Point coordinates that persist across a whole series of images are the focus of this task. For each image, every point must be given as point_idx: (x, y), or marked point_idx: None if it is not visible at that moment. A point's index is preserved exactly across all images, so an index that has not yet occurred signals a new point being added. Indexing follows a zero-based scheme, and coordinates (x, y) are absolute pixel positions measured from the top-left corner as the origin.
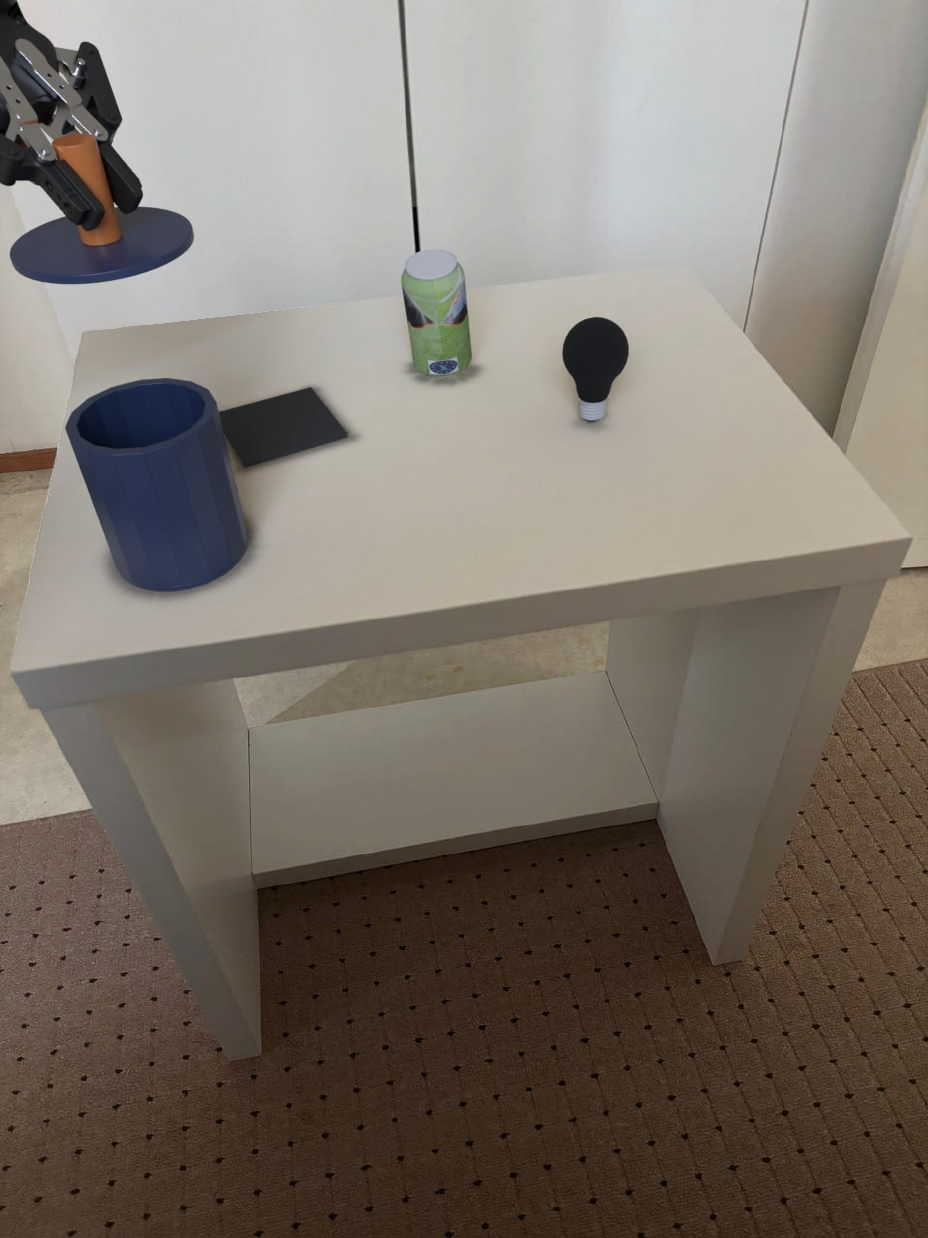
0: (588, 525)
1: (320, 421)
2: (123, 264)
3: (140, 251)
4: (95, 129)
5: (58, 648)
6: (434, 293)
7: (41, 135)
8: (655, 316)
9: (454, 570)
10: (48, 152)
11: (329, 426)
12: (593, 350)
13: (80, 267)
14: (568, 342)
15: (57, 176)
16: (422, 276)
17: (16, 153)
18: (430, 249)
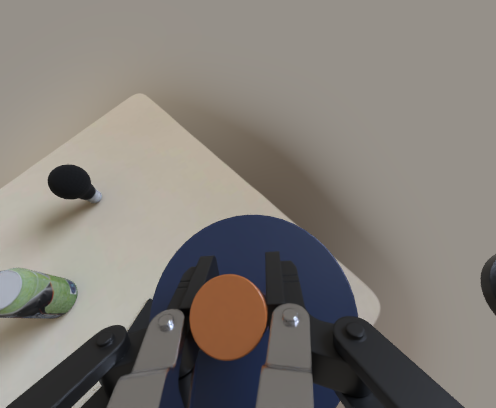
0: (173, 162)
1: (143, 323)
2: (285, 230)
3: (253, 242)
4: (170, 321)
5: (368, 300)
6: (32, 276)
7: (275, 346)
8: None
9: (222, 186)
10: (290, 308)
11: (146, 313)
12: (78, 171)
13: (315, 264)
14: (71, 186)
15: (292, 297)
16: (18, 286)
17: (355, 322)
18: None
